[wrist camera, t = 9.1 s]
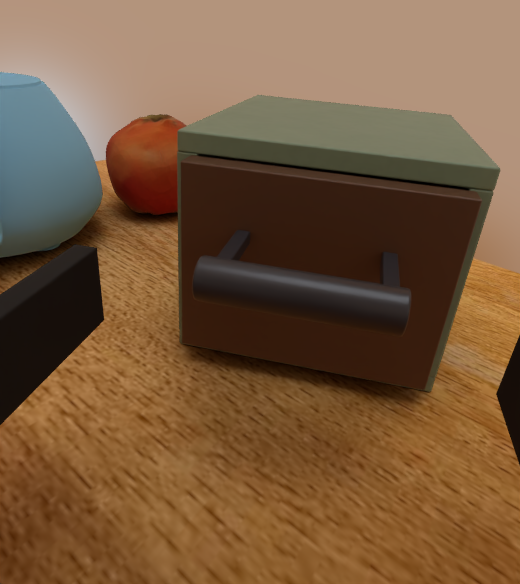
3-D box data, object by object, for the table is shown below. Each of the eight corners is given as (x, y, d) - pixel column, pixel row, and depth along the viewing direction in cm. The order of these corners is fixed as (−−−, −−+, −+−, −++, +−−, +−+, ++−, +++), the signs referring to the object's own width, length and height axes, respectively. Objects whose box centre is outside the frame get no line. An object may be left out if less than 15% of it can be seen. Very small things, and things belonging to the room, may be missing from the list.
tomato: (141, 234, 37) (136, 128, 34) (90, 201, 43) (81, 107, 39) (234, 213, 43) (238, 121, 39) (178, 187, 49) (176, 104, 45)
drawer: (435, 478, 17) (516, 253, 13) (136, 412, 19) (121, 195, 15) (409, 267, 33) (442, 135, 29) (248, 242, 35) (256, 115, 31)
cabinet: (431, 393, 23) (501, 168, 18) (178, 344, 25) (176, 129, 20) (413, 266, 36) (451, 114, 31) (247, 241, 38) (256, 94, 33)
